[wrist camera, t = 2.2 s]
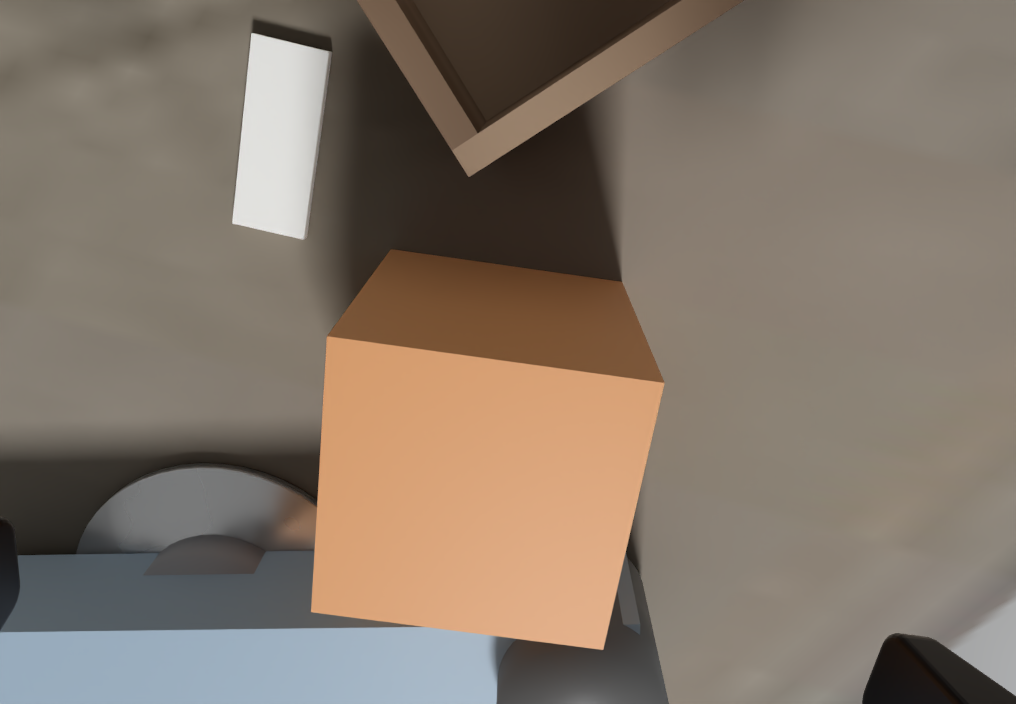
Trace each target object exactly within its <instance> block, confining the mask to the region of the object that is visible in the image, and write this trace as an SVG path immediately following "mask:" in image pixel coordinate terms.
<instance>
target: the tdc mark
mask: <svg viewBox="0 0 1016 704" xmlns="http://www.w3.org/2000/svg"><path fill="white" fill-rule="evenodd" d="M331 58H332V52H331V51H326V50H322V49H318V48H314V47H310V46H306V45H302V44H297V43H293V42H289V41H285V40H281V39H277V38H273V37H269V36H264V35H260V34H256V33H251V43H250V53H249V63H248V73H247V83H246V93H245V103H244V113H243V123H242V132H241V142H240V152H239V162H238V172H237V182H236V192H235V202H234V212H233V222H232V223H233V224H238V225H242V226H246V227H251V228H255V229H259V230H264V231H268V232H273V233H277V234H281V235H286V236H290V237H295V238H299V239H303V240H304V239H305V238H306V237H307V233H308V226H309V218H310V211H311V204H312V197H313V189H314V182H315V175H316V167H317V160H318V153H319V145H320V138H321V131H322V123H323V116H324V109H325V102H326V94H327V87H328V80H329V72H330V65H331Z"/></svg>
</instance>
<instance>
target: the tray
mask: <svg viewBox="0 0 1016 704" xmlns="http://www.w3.org/2000/svg"><path fill="white" fill-rule="evenodd" d="M743 1H744V0H357V2H358V3H359V5H360V6H361V8H362V9H363V11H364V13H365V14H366V16H367V17H368V19H369V20H370V22H371V24H372V25H373V27H374V28H375V30H376V32H377V33H378V35H379V36H380V38H381V39H382V41H383V43H384V44H385V46H386V47H387V49H388V50H389V52H390V54H391V55H392V57H393V58H394V60H395V62H396V63H397V65H398V66H399V68H400V69H401V71H402V73H403V74H404V76H405V77H406V79H407V80H408V82H409V84H410V85H411V87H412V88H413V90H414V92H415V93H416V95H417V96H418V98H419V99H420V101H421V103H422V104H423V106H424V107H425V109H426V111H427V112H428V114H429V115H430V117H431V118H432V120H433V122H434V123H435V125H436V126H437V128H438V129H439V131H440V133H441V134H442V136H443V137H444V139H445V141H446V142H447V144H448V145H449V147H450V148H451V150H452V152H453V153H454V155H455V156H456V158H457V159H458V161H459V163H460V164H461V166H462V167H463V169H464V171H465V172H466V174H467V175H468V177H470V176H472V175H473V174H475V173H476V172H478V171H479V170H481V169H482V168H484V167H486V166H487V165H489V164H490V163H492V162H493V161H495V160H496V159H498V158H500V157H501V156H503V155H504V154H506V153H507V152H509V151H510V150H512V149H514V148H515V147H517V146H518V145H520V144H521V143H523V142H524V141H526V140H528V139H529V138H531V137H532V136H534V135H535V134H537V133H539V132H540V131H542V130H543V129H545V128H546V127H548V126H549V125H551V124H553V123H554V122H556V121H557V120H559V119H560V118H562V117H563V116H565V115H567V114H568V113H570V112H571V111H573V110H574V109H576V108H577V107H579V106H581V105H582V104H584V103H585V102H587V101H588V100H590V99H591V98H593V97H595V96H596V95H598V94H599V93H601V92H602V91H604V90H605V89H607V88H609V87H610V86H612V85H613V84H615V83H616V82H618V81H620V80H621V79H623V78H624V77H626V76H627V75H629V74H630V73H632V72H634V71H635V70H637V69H638V68H640V67H641V66H643V65H644V64H646V63H648V62H649V61H651V60H652V59H654V58H655V57H657V56H658V55H660V54H662V53H663V52H665V51H666V50H668V49H669V48H671V47H672V46H674V45H676V44H677V43H679V42H680V41H682V40H683V39H685V38H686V37H688V36H690V35H691V34H693V33H694V32H696V31H697V30H699V29H701V28H702V27H704V26H705V25H707V24H708V23H710V22H711V21H713V20H715V19H716V18H718V17H719V16H721V15H722V14H724V13H725V12H727V11H729V10H730V9H732V8H733V7H735V6H736V5H738V4H739V3H741V2H743Z"/></svg>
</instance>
